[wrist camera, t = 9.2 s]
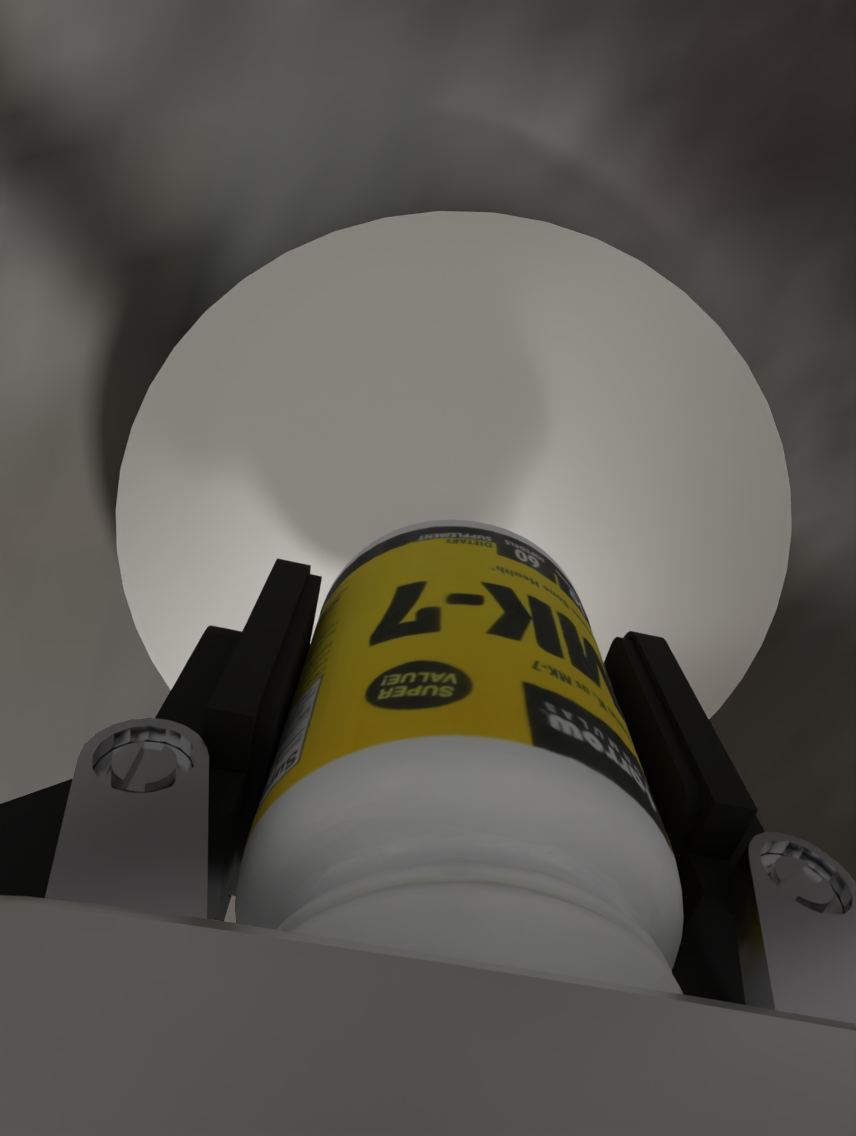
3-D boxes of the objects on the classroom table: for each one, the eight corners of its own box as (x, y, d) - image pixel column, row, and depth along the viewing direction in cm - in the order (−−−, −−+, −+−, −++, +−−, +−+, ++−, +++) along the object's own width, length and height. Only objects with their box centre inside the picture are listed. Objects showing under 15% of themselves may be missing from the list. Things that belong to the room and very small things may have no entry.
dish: (876, 307, 14) (924, 317, 13) (634, 823, 20) (649, 869, 19) (165, 128, 13) (131, 117, 12) (130, 730, 19) (105, 771, 18)
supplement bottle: (628, 561, 12) (923, 1090, 5) (523, 763, 14) (618, 1365, 7) (361, 472, 12) (225, 923, 4) (289, 696, 14) (108, 1278, 6)
